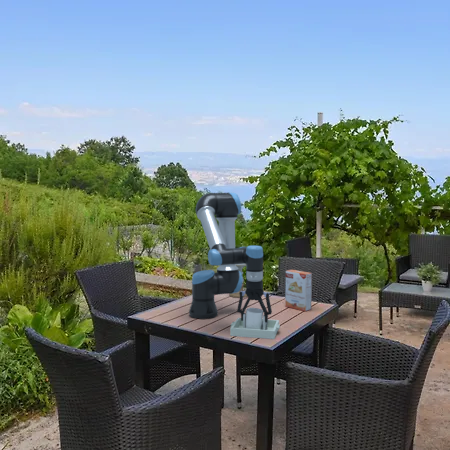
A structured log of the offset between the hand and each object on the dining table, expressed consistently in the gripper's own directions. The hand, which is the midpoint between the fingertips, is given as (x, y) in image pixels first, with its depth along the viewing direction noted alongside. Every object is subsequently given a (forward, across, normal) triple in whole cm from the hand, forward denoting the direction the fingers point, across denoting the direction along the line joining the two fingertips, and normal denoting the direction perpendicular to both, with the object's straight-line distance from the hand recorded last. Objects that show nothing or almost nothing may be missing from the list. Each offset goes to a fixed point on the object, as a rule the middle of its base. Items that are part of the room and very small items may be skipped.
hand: (254, 328), depth 216 cm
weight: (+2, 0, +7) cm, 7 cm away
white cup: (+2, -1, 0) cm, 2 cm away
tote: (+3, 0, +2) cm, 4 cm away
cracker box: (+4, +16, +50) cm, 53 cm away
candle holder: (+4, -22, +72) cm, 76 cm away
